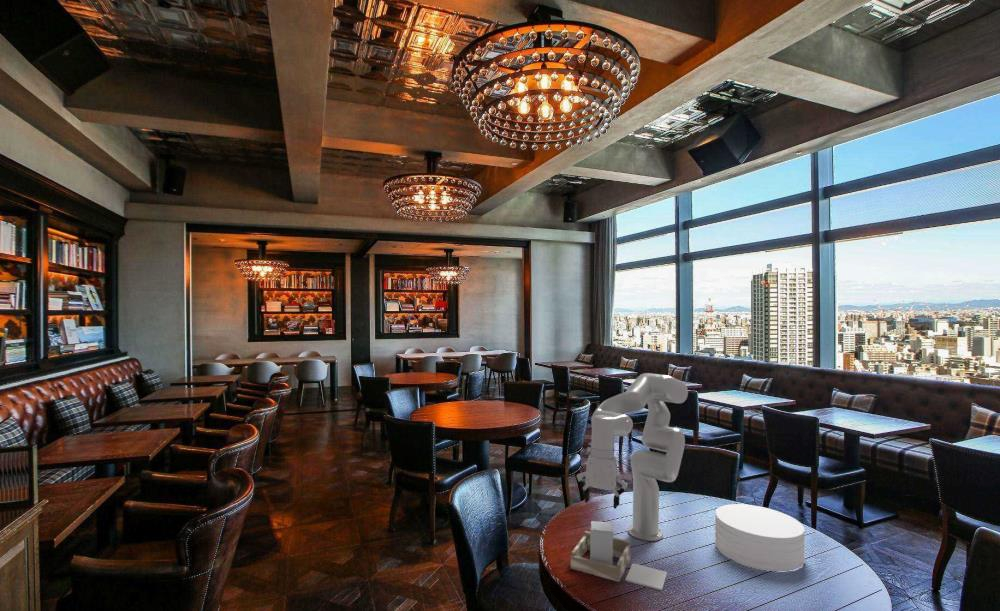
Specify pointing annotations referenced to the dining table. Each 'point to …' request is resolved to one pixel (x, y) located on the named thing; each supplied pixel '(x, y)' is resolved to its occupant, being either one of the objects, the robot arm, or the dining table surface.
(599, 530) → the supplement box
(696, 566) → the dining table surface
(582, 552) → the cold frame
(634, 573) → the mat
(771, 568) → the plate stack
